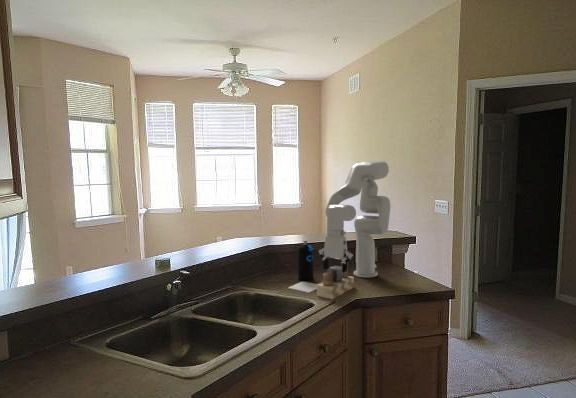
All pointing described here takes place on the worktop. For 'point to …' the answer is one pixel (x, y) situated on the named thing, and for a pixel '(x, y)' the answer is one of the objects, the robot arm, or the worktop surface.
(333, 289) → the cream pegged block
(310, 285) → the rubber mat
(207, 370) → the worktop surface
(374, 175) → the robot arm
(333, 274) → the lever cap
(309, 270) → the aerosol can
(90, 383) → the worktop surface
